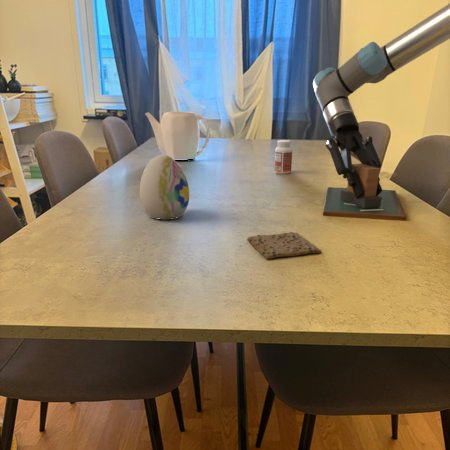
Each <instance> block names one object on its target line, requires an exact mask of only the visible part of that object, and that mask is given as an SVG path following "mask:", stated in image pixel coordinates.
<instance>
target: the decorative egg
mask: <svg viewBox="0 0 450 450" xmlns="http://www.w3.org/2000/svg"><path fill="white" fill-rule="evenodd" d="M139 197H140V202H141V204H142V207H143V210H144V211H145V213H146V214H147V215H148V216H149V217H150V216H151V217H150V218H152V217H154V218H160V219H171V218H176V217H179V218H181V217H182V216H184V214H185V212H186V210H187V208H188V205H189V202H190V187H189V182H188V178H187V176H186V174H185V172H184V170H183V168H182V167H181V165H180V164H179V163H178V161H175V160H174V159H173V158H171V157H170V156H167V154H158V155H155V156H154V157H152V158H151V159H150V160H149V161H148V163H147V165H146V166H145V167H144V170H143V172H142V174H141V178H140V183H139ZM180 216H181V217H180ZM154 218H153V219H154ZM176 219H177V218H176ZM171 220H172V219H171Z"/></svg>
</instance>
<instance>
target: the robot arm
mask: <svg viewBox="0 0 450 450" xmlns="http://www.w3.org/2000/svg"><path fill="white" fill-rule="evenodd" d="M449 40H450V2H449V3H447V4H446V5H445V6H443V7H442V8H440V9H438V10H437V11H435V12H434V13H432V14H431V15H429V16H428V17H426V18H424V19H423V20H421V21H420V22H418V23H417V24H416V25H414V26H412V27H410V28H408V29H407V30H406V31H404V32H403V33H401V34H399V35H398V36H396V37H395V38H393V39H392V40H390V41H389V42H387V43H386V44H385V45H383V46H379V44H378V43H377V42H375V41H371V42H369V43H367V44H366V45H365V46H363V47H361V48H360V49H359V51H357V52H356V53H354V55H353V56H351V57H350V58H348V59H347V60H346V62H344V63H343V64H342V65H341V66H340V67H338V68H337V69H336V68H335V67H327V68H325V69H324V70H323V69H322V70H320V71H319V72H317V73H316V75H315V77H314V79H313V82H312V86H313V90H314V93H315V97H316V99H317V102H318V105H319V107H320V109H321V111H322V115H323V118H324V120H325V123H326V126H327V127H328V131H329V134H330V136H331V137H330V138H329V140H327V142H326V144H325V148H326V149H327V150H328V151H329V155H330V157H331V159H332V162H333V165H334V167H335V170H336V173H337V175H338V176H341V175H342V178H343V179H346V180H347V181H346V182H347V184H348V183H349V185H350V186H352V189H353V191H354V194H355V197H356V199H357V198H359V197H360V196H361V195H362V194H363V193H364V191H363V188H362V186H361V183H360V180H359V178H358V175H357V173H356V171H353V169H352V164H353V161H352V154H353V155H354V156H356V157H357V159H358V160H359V161H360V162H359V163H361V164H365V165H369V166H372V167H376V168H379V169H381V168H382V163H381V161H380V158H379V155H378V153H377V150H376V148H375V145H374V141H373V136H371V135H369V136H368V137H364V136H363V134H362V133H361V132H360V124H359V121H358V120H357V116H356V115H355V112H354V109H353V107H352V105H351V102H350V100H349V99H350V98H349V96H351V95H352V94H353V93H355V91H357V90H358V89H359V88H361V87H362V86H363V85H365V84H378V83H381V82H382V81H384V80H385V79H386V78H387V77H388V76H390V75H391V74H393V73H394V72H396V71H398V70H400V69H401V68H403V67H404V66H406V65H407V64H409V63H411V62H412V61H415V60H416V59H418V58H420V57H421V56H423V55H425V54H427V53H428V52H429V51H431V50H434V49H435V48H437V47H438V46H440V45H442V44H444V43H445V42H446V41H449ZM351 152H352V153H351ZM352 171H353V172H352ZM380 181H381V179H380V177H379V178H378V185H377V191H376V195H377V196H378V195H379V194H380V193H381V192H382V191H383V190H384V189H383V188H382V186H381V183H380Z"/></svg>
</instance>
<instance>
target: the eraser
mask: <svg viewBox="0 0 450 450" xmlns="http://www.w3.org/2000/svg"><path fill="white" fill-rule="evenodd" d="M352 169H353V171H356V173H357V175H358V178H359V180H360V183H361V186H362V188H363V191H364V193H363V194H362V195H361V196H360V197H359V198H357V199H356V197H355V194H354V191H353V189H352V186H350V185H349V183H348V182H347V186H346V188H347V189H343V190H341V198H340V199H343V200H345V201H348V202H350V203H352V204H355V205H357V206H360V207H362V208H373V207H380V205H381V199H382V197H380V196H377V195H376V191H377V185H378V178H380V173H381V172H380V171H381V168H376V167H372V166H369V165H365V164H362V163H361V162H359V163H352ZM353 171H352V172H353Z"/></svg>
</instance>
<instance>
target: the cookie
mask: <svg viewBox="0 0 450 450" xmlns="http://www.w3.org/2000/svg"><path fill="white" fill-rule="evenodd" d="M246 238H247V239H246V240H247V242H248V243H249V244H250V245H251V246H252V247H253V248H254V249H255V250H256V251H257V252H259V253H260V255H261V256H263V258H264V259H266V260H271V259H276V258H280V257H295V256H303V255H308V254H322V253H323V252H322V249H320V247H318V246H316V245H315V244H314V243H312V242H311V241H309V240H307V239H306V238H305V237H303V236H302V235H301V234H299V233H298V232H293V231H290V232H281V233H275V234H273V233H272V234H257V235H253V236H248V237H246Z"/></svg>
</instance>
